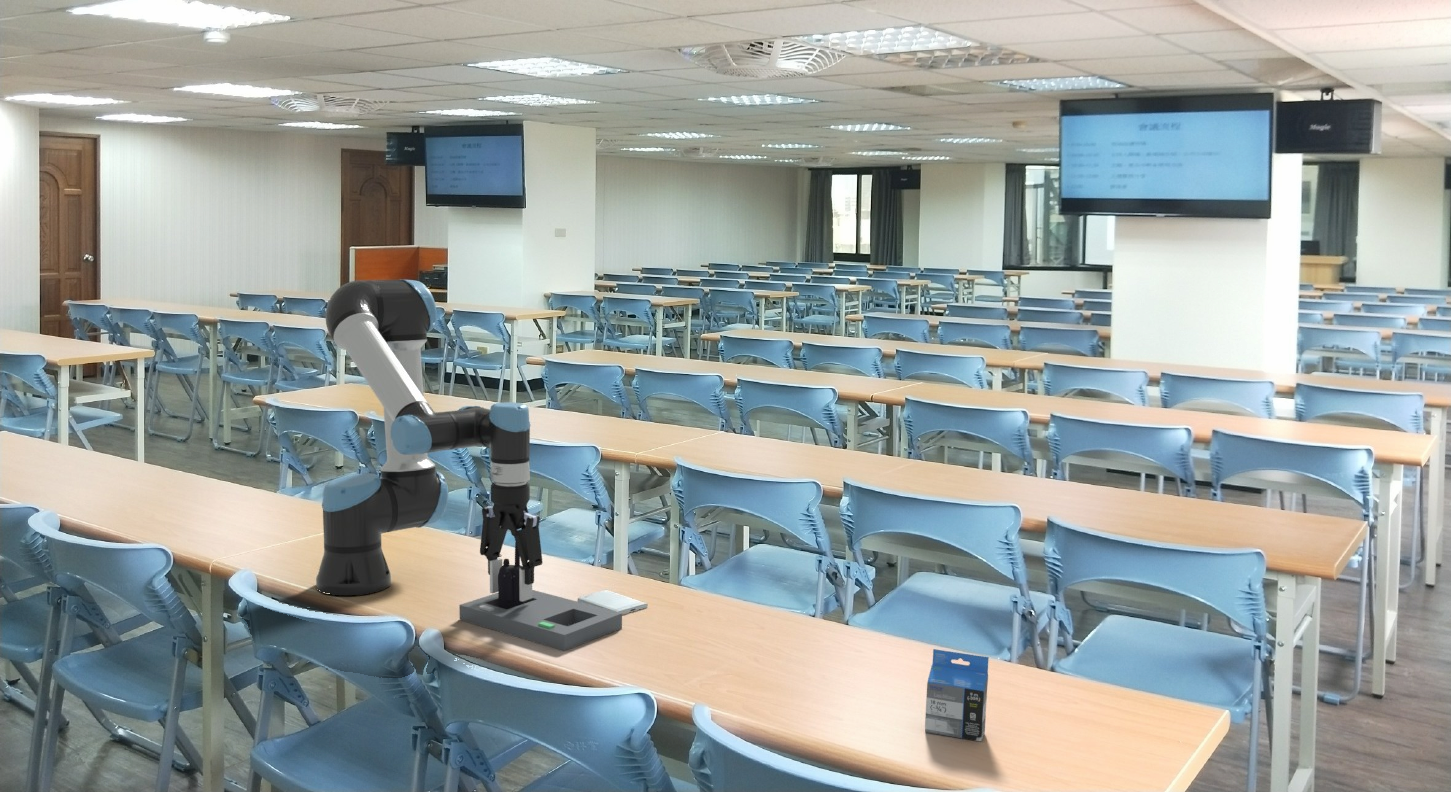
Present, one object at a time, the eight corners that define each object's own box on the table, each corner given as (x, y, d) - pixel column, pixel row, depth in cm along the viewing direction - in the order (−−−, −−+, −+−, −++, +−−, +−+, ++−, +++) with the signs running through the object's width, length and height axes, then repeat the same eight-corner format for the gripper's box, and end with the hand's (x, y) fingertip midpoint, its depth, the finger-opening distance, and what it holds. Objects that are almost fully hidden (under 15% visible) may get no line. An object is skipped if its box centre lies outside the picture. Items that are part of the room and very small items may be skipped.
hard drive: (577, 597, 247) (617, 610, 238) (607, 589, 253) (647, 602, 244) (577, 605, 247) (617, 619, 239) (607, 596, 253) (647, 610, 245)
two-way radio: (527, 613, 239) (527, 539, 237) (521, 620, 235) (521, 545, 233) (500, 611, 240) (500, 538, 238) (494, 618, 236) (493, 544, 234)
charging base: (459, 619, 235) (459, 602, 234) (518, 600, 247) (518, 584, 247) (564, 650, 218) (564, 632, 218) (622, 628, 231) (622, 611, 231)
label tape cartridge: (923, 733, 186) (926, 656, 184) (928, 723, 189) (931, 648, 187) (981, 742, 182) (985, 665, 181) (985, 733, 186) (989, 656, 184)
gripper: (459, 478, 237) (461, 590, 240) (534, 492, 225) (534, 610, 228) (488, 472, 243) (488, 581, 246) (562, 486, 231) (562, 601, 234)
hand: (510, 595), depth 237 cm, fingers open, 8 cm apart
